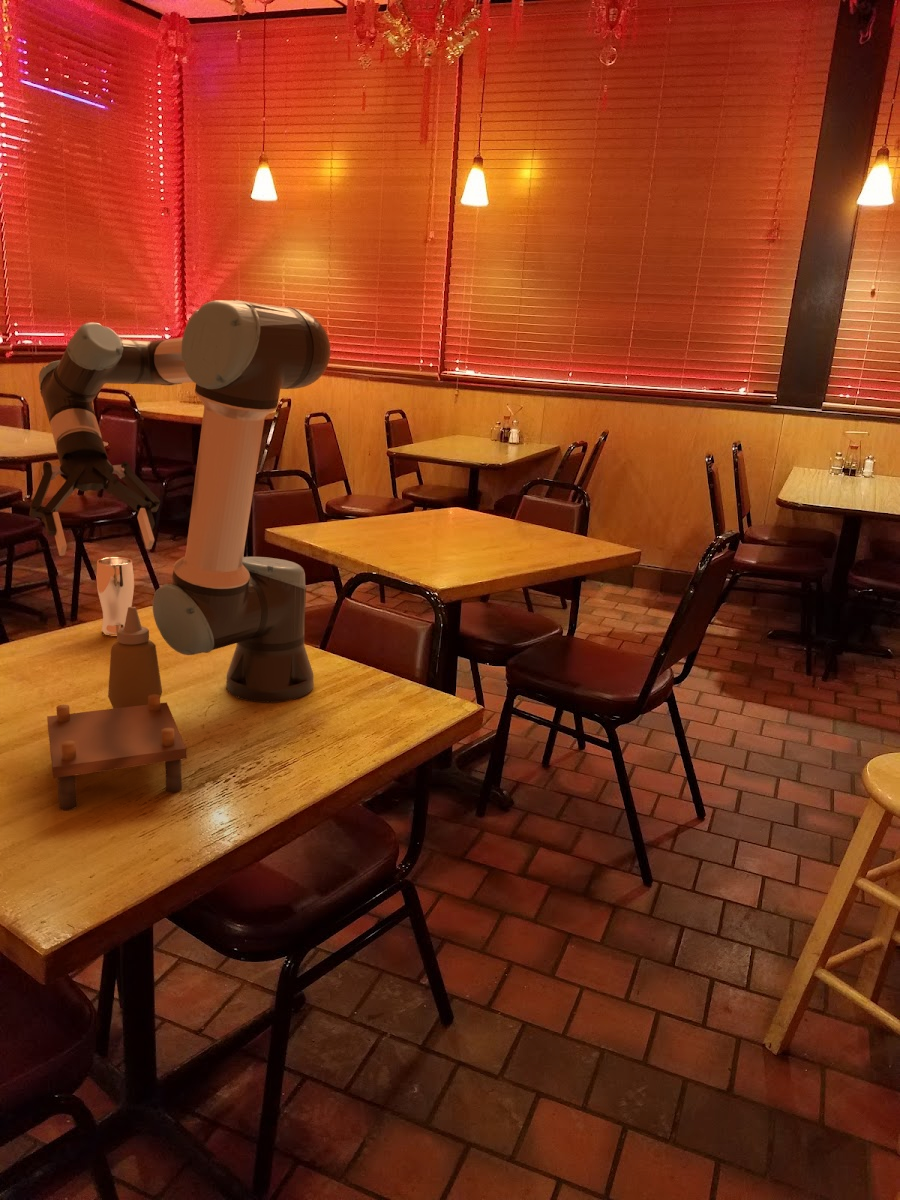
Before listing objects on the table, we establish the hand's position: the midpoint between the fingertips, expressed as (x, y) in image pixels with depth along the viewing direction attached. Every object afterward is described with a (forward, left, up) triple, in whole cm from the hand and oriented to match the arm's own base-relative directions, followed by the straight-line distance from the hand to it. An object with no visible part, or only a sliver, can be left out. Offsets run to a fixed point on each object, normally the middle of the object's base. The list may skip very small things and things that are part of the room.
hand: (108, 548), depth 136 cm
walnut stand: (-8, +30, -25) cm, 39 cm away
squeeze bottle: (-6, +10, -25) cm, 28 cm away
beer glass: (+7, -31, -25) cm, 41 cm away
